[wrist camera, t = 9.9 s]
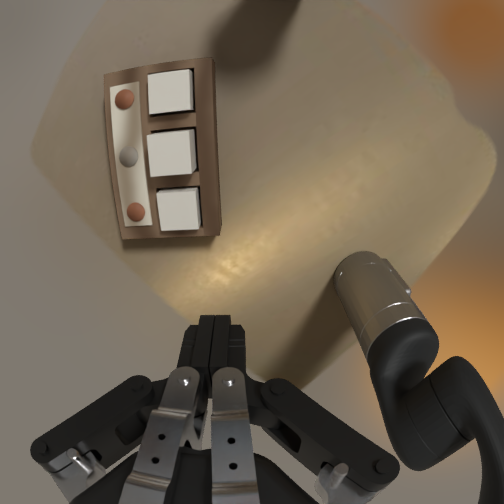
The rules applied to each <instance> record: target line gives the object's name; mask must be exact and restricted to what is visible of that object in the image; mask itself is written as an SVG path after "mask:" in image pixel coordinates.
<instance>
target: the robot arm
mask: <svg viewBox="0 0 504 504" xmlns="http://www.w3.org/2000/svg"><path fill="white" fill-rule="evenodd" d="M334 286H335V289H336V291H337V294H338V296H339V298H340V300H341V302H342V304H343V307H344V309H345V311H346V313H347V316H348V318H349V320H350V323H351V325H352V327H353V329H354V332H355V334H356V336H357V339H358V341H359V344H360V346H361V348H362V351H363V353H364V355H365V358H366V360H367V363H368V365H369V368H370V377H371V380H372V383H373V386H374V389H375V392H376V395H377V399H378V402H379V405H380V409H381V413H382V416H383V420H384V423H385V427H386V430H387V433H388V436H389V439H390V441H391V444H392V446H393V449H394V450H395V452H396V454H397V455H398V457H399V458H400V460H401V461H402V462H403V463H404V464H405V465H406V466H407V467H408V468H410V469H412V470H415V471H422V470H426V469H428V468H430V467H432V466H434V465H435V464H437V463H439V462H440V461H442V460H444V459H445V458H447V457H448V456H450V455H451V454H453V453H454V452H456V451H457V450H459V449H460V448H462V447H463V446H464V445H466V444H467V443H469V442H470V441H471V440H473V439H474V438H476V441H477V443H478V447H479V450H480V455H481V462H482V484H481V491H480V497H479V502H478V504H504V418H503V416H502V414H501V412H500V410H499V408H498V406H497V404H496V402H495V400H494V398H493V396H492V394H491V393H490V391H489V389H488V387H487V385H486V384H485V382H484V380H483V379H482V378H481V376H480V375H479V373H478V372H477V370H476V369H475V368H474V367H473V366H472V365H471V364H470V363H469V362H468V361H467V360H466V359H464V358H462V357H459V356H454V357H451V358H449V359H448V360H446V361H445V362H444V363H443V364H441V365H440V366H439V367H438V368H436V369H435V370H434V371H433V372H432V373H431V374H429V375H428V376H427V377H425V375H426V373H427V372H428V370H429V368H430V367H431V365H432V363H433V362H434V360H435V358H436V356H437V353H438V349H439V340H438V336H437V334H436V332H435V331H434V329H433V328H432V326H431V325H430V323H429V322H428V321H427V319H426V318H425V316H424V315H423V314H422V312H421V311H420V310H419V308H418V307H417V305H416V304H415V303H414V301H413V300H412V299H411V297H410V294H411V289H410V288H409V286H408V285H407V284H406V282H405V281H404V280H403V279H402V277H401V276H400V275H399V274H398V272H397V271H396V270H395V269H394V268H393V266H392V265H391V264H390V263H389V261H388V260H387V259H381V258H380V257H379V256H377V255H376V254H374V253H372V252H367V251H366V252H357V253H354V254H352V255H350V256H348V257H347V258H345V259H344V260H343V261H342V262H341V263H340V265H339V266H338V267H337V270H336V272H335V275H334ZM424 377H425V378H424ZM208 398H212V415H211V449H206V450H202V438H203V433H204V427H205V422H206V417H207V404H208ZM250 424H254V425H258V426H261V427H262V429H263V430H264V431H265V432H266V433H267V434H268V435H269V436H271V437H272V438H273V439H274V440H275V441H276V442H277V443H278V444H279V445H281V446H282V447H283V448H284V449H285V450H286V451H287V452H289V453H290V454H291V455H292V456H293V457H294V458H296V459H297V460H298V461H299V462H301V463H302V464H303V465H304V466H305V467H306V468H308V469H309V470H310V471H312V472H313V473H314V474H315V475H317V476H318V477H317V478H316V481H315V484H314V487H315V490H316V492H317V493H318V494H319V496H320V497H321V498H322V501H323V504H366V503H367V502H369V501H371V500H372V499H373V498H374V497H375V496H376V495H378V494H379V493H380V492H381V491H382V490H383V489H384V488H385V487H386V486H388V485H389V484H390V483H391V482H392V481H393V480H394V479H395V478H396V477H397V476H398V474H399V470H400V465H399V462H398V460H397V459H396V458H395V457H394V456H393V455H391V454H390V453H388V452H387V451H385V450H384V449H382V448H380V447H379V446H378V445H376V444H374V443H373V442H372V441H370V440H369V439H367V438H366V437H364V436H363V435H361V434H359V433H358V432H357V431H355V430H354V429H352V428H351V427H349V426H348V425H347V424H345V423H344V422H343V421H341V420H340V419H338V418H337V417H336V416H334V415H333V414H331V413H330V412H329V411H327V410H326V409H324V408H323V407H322V406H320V405H319V404H318V403H316V402H315V401H314V400H312V399H311V398H310V397H308V396H307V395H306V394H305V393H303V392H302V391H301V390H299V389H298V388H297V387H295V386H294V385H293V384H292V383H290V382H289V381H287V380H285V379H280V378H276V379H271V380H269V381H267V382H265V383H262V382H258V381H255V380H253V379H251V378H250V377H249V376H248V375H247V374H246V347H245V331H244V329H243V328H242V326H241V325H231V317H230V315H216V316H215V315H201V316H200V320H199V325H190V326H189V327H188V329H187V330H186V331H185V334H184V338H183V342H182V347H181V351H180V355H179V360H178V364H177V368H176V369H175V370H173V371H172V372H171V374H170V375H169V377H168V378H166V379H164V380H159V381H154V382H151V381H150V379H149V378H147V377H145V376H142V375H136V376H132V377H130V378H128V379H127V380H126V381H124V382H123V383H121V384H120V385H118V386H117V387H115V388H114V389H112V390H111V391H109V392H108V393H106V394H105V395H103V396H102V397H100V398H99V399H97V400H96V401H95V402H93V403H91V404H90V405H88V406H87V407H85V408H84V409H82V410H81V411H79V412H78V413H76V414H75V415H73V416H72V417H70V418H68V419H67V420H65V421H64V422H62V423H61V424H59V425H57V426H56V427H54V428H53V429H51V430H50V431H48V432H47V433H45V434H43V435H42V436H40V437H39V438H37V439H36V440H35V441H34V442H33V443H32V445H31V449H30V451H31V456H32V458H33V459H34V460H35V461H36V462H38V464H40V465H41V466H42V467H43V468H44V469H45V470H46V471H47V472H48V473H49V474H51V476H52V478H53V479H54V481H55V482H56V484H57V486H58V487H59V489H60V490H61V492H62V493H63V494H64V496H65V497H66V499H67V500H68V502H69V504H319V503H318V502H317V501H315V500H314V499H313V498H312V497H311V496H310V495H308V494H307V493H306V492H305V491H304V490H303V489H302V488H301V487H299V486H298V485H297V484H296V483H295V482H294V481H293V480H292V479H290V478H289V476H287V475H286V474H285V473H284V472H283V471H282V470H281V469H280V468H279V467H278V466H277V465H276V464H275V463H273V462H272V461H271V460H269V459H268V458H265V457H264V456H261V455H259V454H256V453H253V446H252V438H251V429H250ZM140 444H141V445H140ZM138 445H140V448H139V451H137V452H135V453H134V454H132V455H131V456H129V457H128V458H127V459H125V460H124V461H123V462H122V463H120V464H119V465H118V466H117V467H115V468H114V469H113V470H111V471H110V472H109V473H107V474H106V472H105V469H107V468H108V467H109V466H111V465H112V464H114V463H115V462H117V461H118V460H119V459H121V458H122V457H123V456H125V455H126V454H128V453H129V452H130V451H132V450H133V449H134V448H135V447H137V446H138ZM105 474H106V475H105Z"/></svg>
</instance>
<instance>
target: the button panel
mask: <svg viewBox="0 0 504 504" xmlns="http://www.w3.org/2000/svg"><path fill="white" fill-rule="evenodd" d="M187 69H189V70H191V71H192V72H193V73H194V86H195V110H188V111H178V112H169V113H160V114H149V97H148V75H150V74H156V73H163V72H170V71H178V70H187ZM104 98H105V116H106V130H107V141H108V151H109V160H110V168H111V176H112V183H113V190H114V197H115V203H116V209H117V215H118V220H119V226H120V231H121V236H122V239H140V238H164V237H190V236H219V235H220V231H221V226H222V220H221V203H220V185H219V165H218V143H217V117H216V86H215V62H214V60H213V59H212V58H200V59H190V60H181V61H173V62H166V63H159V64H153V65H147V66H142V67H136V68H131V69H126V70H122V71H117V72H113V73H109V74H105V75H104ZM191 129H194V134H195V152H196V169H195V170H194V172H193V173H192V174H180V175H167V176H155V177H151V176H150V167H149V156H148V145H147V135H150V134H154V133H160V132H169V131H179V130H191ZM197 185H200V197H201V209H202V222H201V224H200V227H199V229H191V230H167V231H161V226H160V218H159V211H158V203H157V195H156V194H157V193H158V192H159V191H160V190H161V189H162V188H166V187H181V186H197Z"/></svg>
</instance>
